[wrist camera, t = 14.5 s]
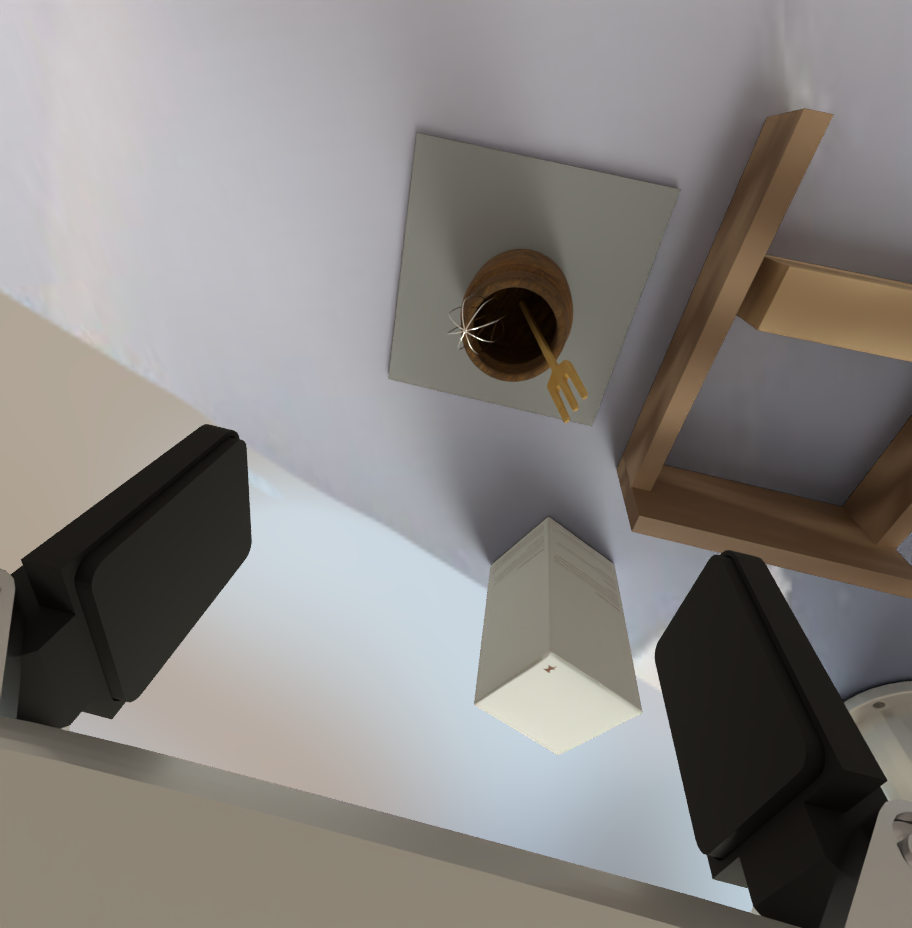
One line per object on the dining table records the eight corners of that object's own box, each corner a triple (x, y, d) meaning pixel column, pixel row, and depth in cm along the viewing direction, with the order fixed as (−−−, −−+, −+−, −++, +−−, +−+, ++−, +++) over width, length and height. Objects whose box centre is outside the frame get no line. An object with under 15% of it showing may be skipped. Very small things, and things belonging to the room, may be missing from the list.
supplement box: (487, 564, 41) (468, 704, 30) (549, 512, 37) (552, 651, 27) (553, 611, 42) (556, 759, 32) (618, 565, 39) (647, 715, 28)
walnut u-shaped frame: (849, 524, 34) (914, 599, 28) (616, 469, 34) (631, 531, 29) (1113, 189, 23) (1311, 196, 17) (766, 117, 24) (842, 99, 18)
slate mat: (591, 423, 33) (591, 426, 33) (390, 376, 33) (388, 378, 33) (678, 189, 26) (680, 189, 25) (418, 133, 26) (416, 132, 26)
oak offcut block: (936, 349, 28) (1007, 381, 24) (725, 306, 28) (757, 330, 24) (974, 296, 26) (1058, 319, 22) (750, 251, 27) (789, 266, 22)
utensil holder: (500, 224, 27) (476, 257, 17) (595, 283, 28) (625, 347, 18) (452, 317, 30) (406, 391, 20) (538, 368, 31) (536, 464, 21)
